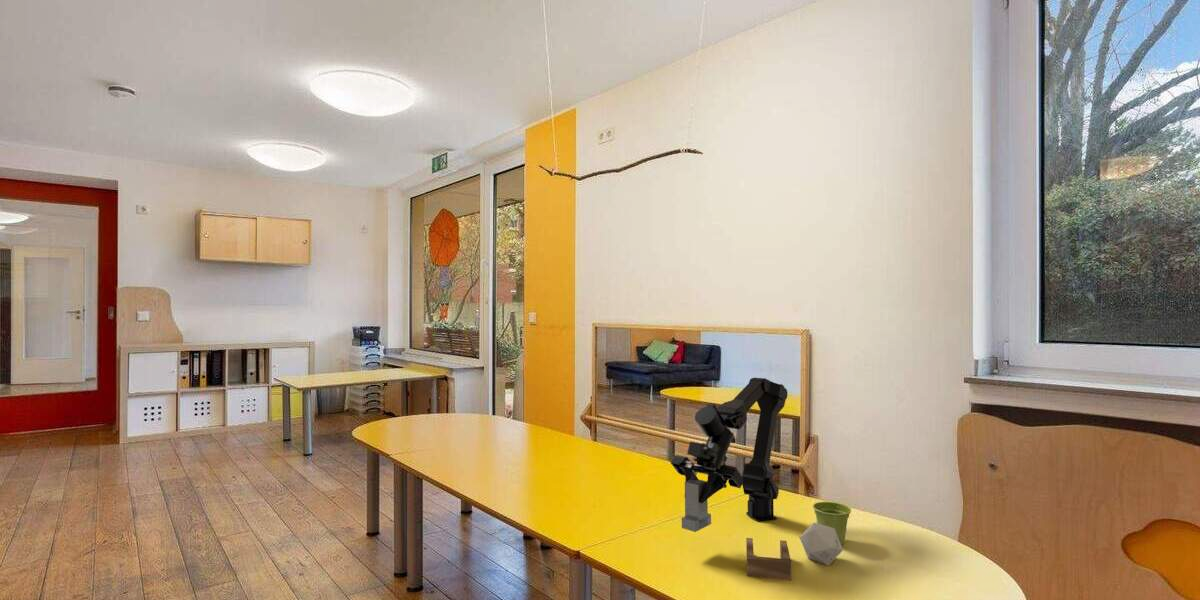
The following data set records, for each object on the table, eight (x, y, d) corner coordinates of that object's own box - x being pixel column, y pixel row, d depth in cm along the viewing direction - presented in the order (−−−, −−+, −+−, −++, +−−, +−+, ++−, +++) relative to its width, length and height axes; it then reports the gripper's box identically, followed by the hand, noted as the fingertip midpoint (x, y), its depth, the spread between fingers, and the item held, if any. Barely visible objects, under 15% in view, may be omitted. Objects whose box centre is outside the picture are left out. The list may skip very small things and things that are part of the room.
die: (811, 572, 136) (839, 541, 134) (786, 541, 143) (812, 511, 141) (829, 575, 141) (856, 545, 139) (804, 545, 148) (829, 516, 146)
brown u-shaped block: (746, 554, 145) (746, 537, 145) (786, 557, 143) (786, 540, 143) (747, 576, 133) (747, 558, 133) (791, 580, 131) (791, 562, 131)
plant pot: (857, 540, 153) (856, 506, 153) (843, 551, 146) (843, 516, 146) (821, 531, 159) (821, 499, 159) (806, 541, 152) (806, 508, 152)
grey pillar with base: (697, 520, 150) (697, 477, 150) (711, 524, 147) (710, 480, 147) (681, 527, 145) (681, 483, 145) (695, 532, 142) (694, 486, 142)
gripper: (674, 424, 155) (648, 475, 147) (736, 434, 143) (712, 490, 134) (691, 448, 161) (668, 498, 153) (753, 460, 148) (730, 515, 140)
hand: (693, 500), depth 145 cm, fingers closed on grey pillar with base, 4 cm apart
